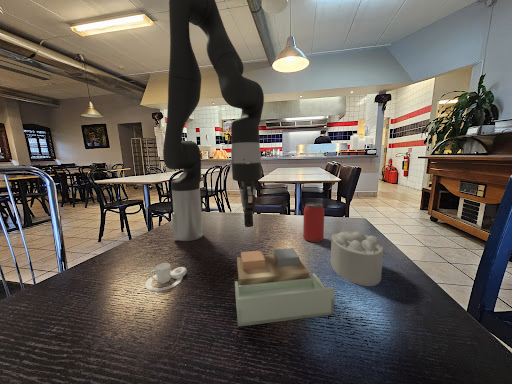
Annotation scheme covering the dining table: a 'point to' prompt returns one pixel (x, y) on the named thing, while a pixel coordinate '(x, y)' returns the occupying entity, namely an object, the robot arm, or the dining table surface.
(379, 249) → the lumpy-topped squat cylinder
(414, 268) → the dining table surface
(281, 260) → the slate tile
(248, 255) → the terracotta tile
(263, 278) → the board
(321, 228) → the beer can
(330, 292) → the tray
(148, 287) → the teacup and saucer
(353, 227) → the dining table surface
